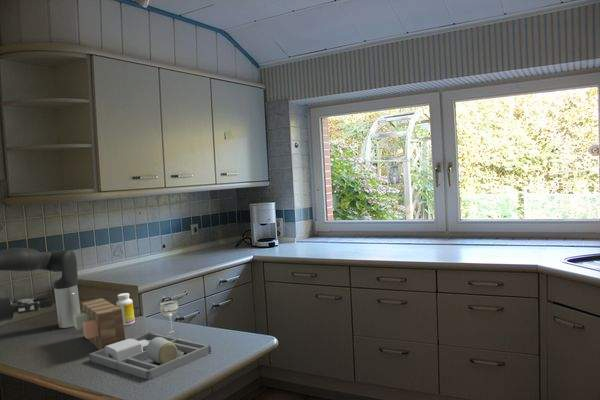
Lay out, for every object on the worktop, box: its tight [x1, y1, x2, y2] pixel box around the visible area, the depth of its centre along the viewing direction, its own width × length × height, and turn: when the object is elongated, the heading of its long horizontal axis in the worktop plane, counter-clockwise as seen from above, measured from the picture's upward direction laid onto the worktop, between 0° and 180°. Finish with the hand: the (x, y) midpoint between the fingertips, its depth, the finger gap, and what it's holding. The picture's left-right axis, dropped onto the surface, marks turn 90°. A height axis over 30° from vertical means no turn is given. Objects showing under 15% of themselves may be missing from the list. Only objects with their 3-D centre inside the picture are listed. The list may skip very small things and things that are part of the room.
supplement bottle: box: [115, 292, 136, 327], centre depth 215 cm, size 7×7×13 cm
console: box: [80, 297, 126, 350], centre depth 192 cm, size 28×8×14 cm, turn 35°
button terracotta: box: [82, 320, 99, 340], centre depth 183 cm, size 5×5×5 cm
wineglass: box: [159, 300, 179, 333], centre depth 195 cm, size 7×7×12 cm
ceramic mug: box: [145, 337, 185, 365], centre depth 164 cm, size 11×8×8 cm
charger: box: [105, 338, 151, 361], centre depth 175 cm, size 5×9×15 cm
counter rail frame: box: [88, 332, 212, 381], centre depth 170 cm, size 35×24×2 cm
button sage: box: [73, 312, 88, 331], centre depth 196 cm, size 5×5×5 cm
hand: (49, 301), depth 174 cm, fingers open, 8 cm apart
